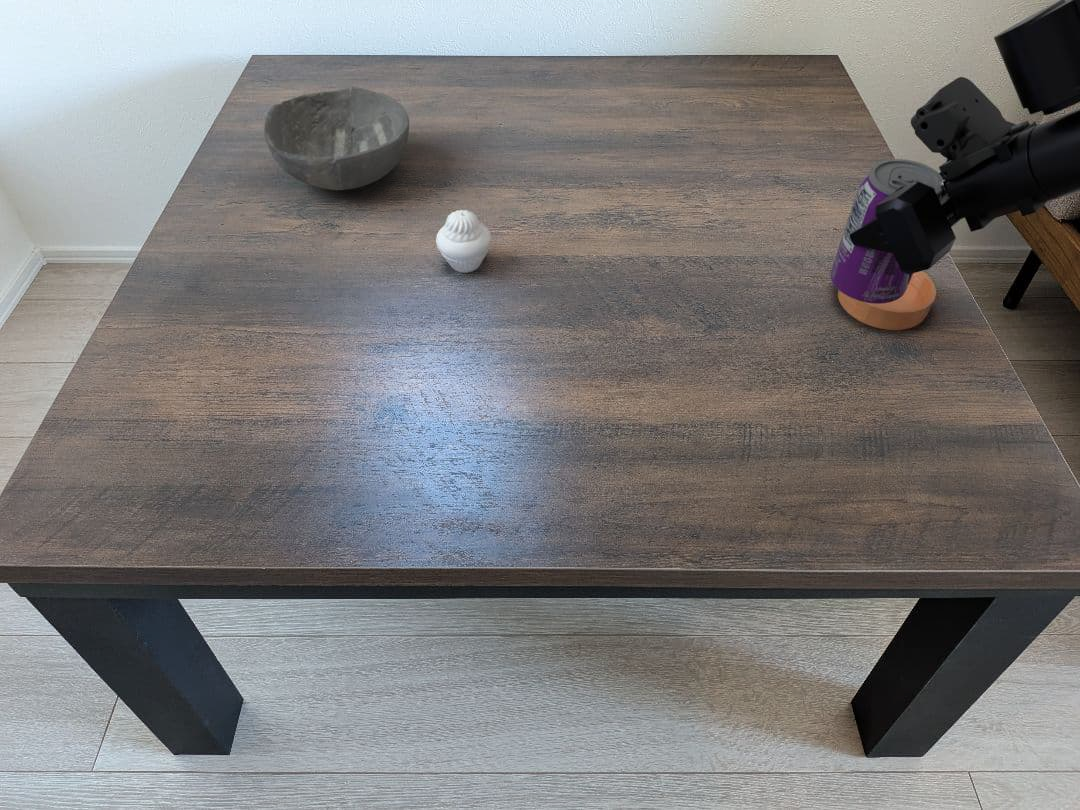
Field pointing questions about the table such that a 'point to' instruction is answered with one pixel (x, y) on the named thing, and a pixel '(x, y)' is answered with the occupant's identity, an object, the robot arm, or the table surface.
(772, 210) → the table surface
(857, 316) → the terracotta bowl
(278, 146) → the bowl
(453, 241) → the muffin
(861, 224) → the beverage can
